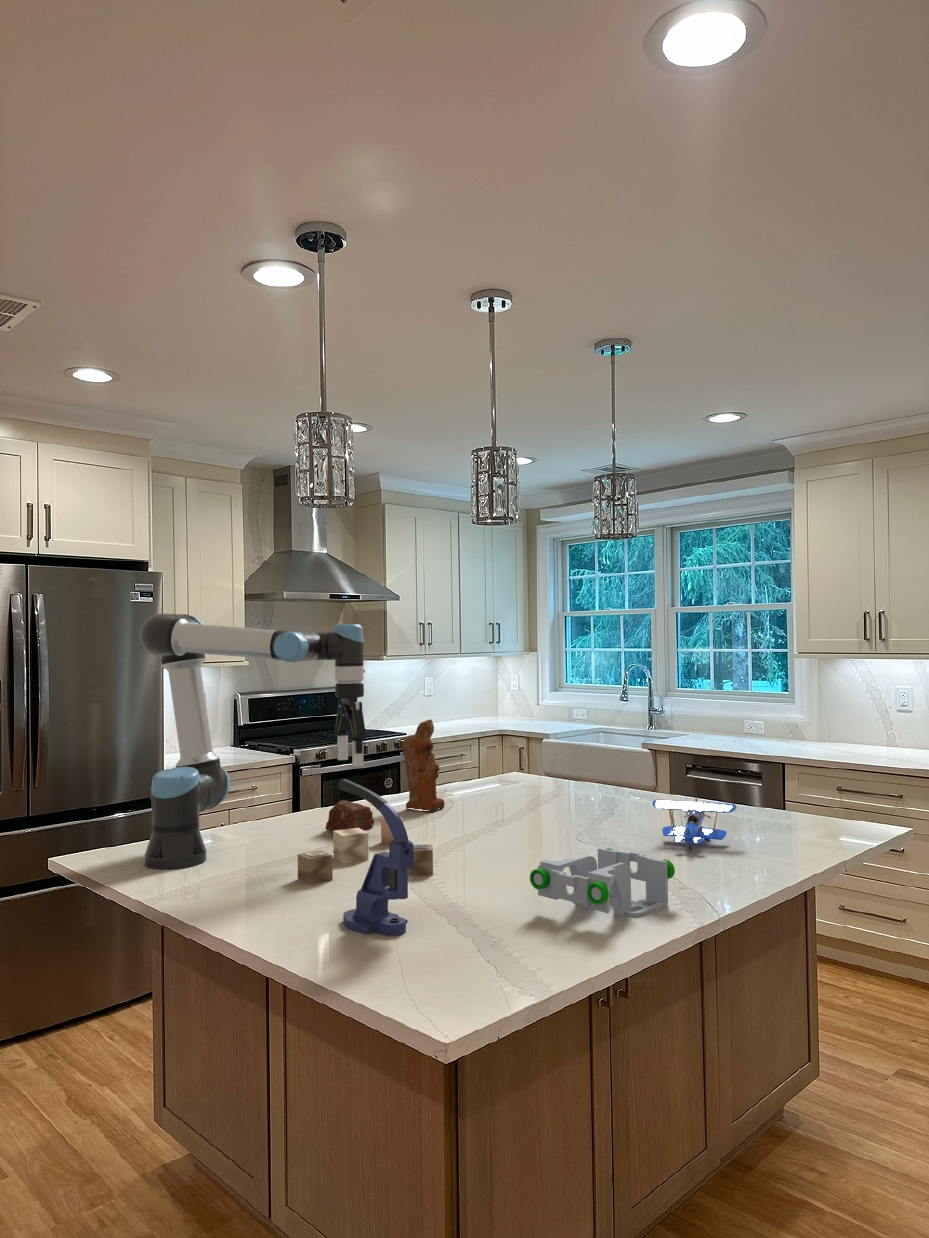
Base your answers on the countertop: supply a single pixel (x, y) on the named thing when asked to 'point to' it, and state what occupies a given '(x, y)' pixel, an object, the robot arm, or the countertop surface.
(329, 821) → the rock
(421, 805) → the sculpture
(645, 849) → the countertop surface
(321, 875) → the walnut block
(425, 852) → the walnut block
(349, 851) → the maple block
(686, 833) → the airplane toy
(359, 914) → the hand press
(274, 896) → the countertop surface
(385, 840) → the peach rounded cylinder
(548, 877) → the bracket
